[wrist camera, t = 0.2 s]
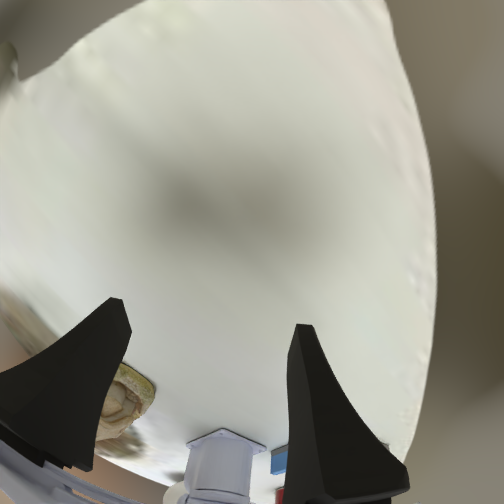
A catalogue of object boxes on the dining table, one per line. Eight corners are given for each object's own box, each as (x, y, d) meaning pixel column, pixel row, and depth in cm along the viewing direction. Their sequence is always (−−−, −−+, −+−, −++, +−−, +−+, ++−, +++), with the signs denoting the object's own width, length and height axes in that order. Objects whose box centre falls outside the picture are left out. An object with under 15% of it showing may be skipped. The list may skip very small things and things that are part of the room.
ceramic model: (128, 421, 34) (107, 472, 25) (67, 378, 31) (36, 426, 22) (172, 393, 29) (148, 463, 20) (93, 335, 27) (49, 399, 17)
